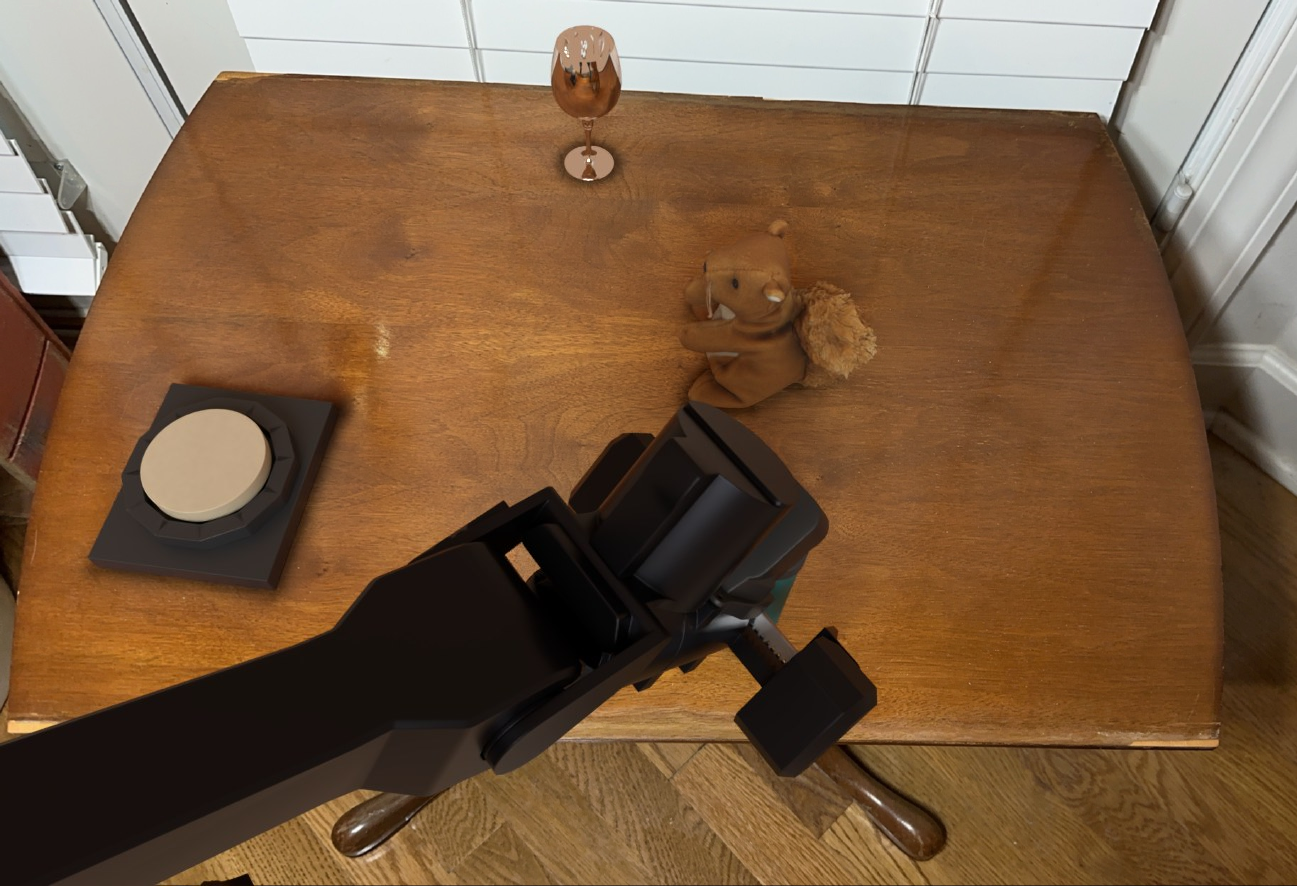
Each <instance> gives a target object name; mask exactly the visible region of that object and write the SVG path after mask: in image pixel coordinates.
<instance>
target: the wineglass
mask: <svg viewBox="0 0 1297 886" xmlns="http://www.w3.org/2000/svg"><path fill="white" fill-rule="evenodd" d="M621 67H622V66H621V60H620V56H619V53H618V49H617V45H616V41H615V39H614V37H613V35H612V34H611V33H610V32H608V31H607V30H605V29H604V28H602V27H599V26H595V25H589V24H586V25H583V24H582V25H575V26H571V27H568V28H567V29H565V30H563V31H562V32H560V33H559V35H558V36H557V37H556V40H555V42H554V47H553V52H552V57H551V65H550V87H551V92H552V95H553V98H554V100H555V102H556V104H557V105H558V107H559V108H560V110H561V111H563V112H564V113H565V114H567V115H568V116H570V117H572V118H574V119H578V120H581V124H582V125H581V126H582V127H583V130H584V135H585V145H580V146H577V147H575V148H573V149H571V150H570V151H569V152H567V154H566V156H565V157H564V161H563V163H564V165H563V166H564V169H565V171H566V172H567V173H568V175H570V176H571V177H573V178H575V179H577V180H580V181H586V182H590V181H591V182H593V181H598V180H601V179H604V178H606V177H607V176H608V175H610V174H611V172H612V171H613V169H614V167H615V159H614V157H613V155H612V154H611V153H610V152H609V151H608V150H607V149H605V148H603V147H601V146H598V145H592V132H593V127H594V124H595V120H598V119H600V118H603V117H604V116H607V115H608V114H609V113H610V112H612V110H613V109H614V108H615V107H616V106H617V104H618V102H619V100H620V97H621V92H622V85H623V77H622V76H623V73H622V68H621Z"/></svg>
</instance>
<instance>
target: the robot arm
mask: <svg viewBox="0 0 1297 886" xmlns="http://www.w3.org/2000/svg"><path fill="white" fill-rule="evenodd" d="M829 530H830V521H829V518H828V515H827V514H826V513H825V511H824V510H823V509H822V507H821V506H820V504H819V503H818V501H817V500H816V499H815V498H814V497H813V496H812V495H811V494H810V493H809V492H808V490H807V489H806V488H805V487H804V486H803V485H802V484H801V483H800V482H799V481H798V480H797V479H796V478H795V476H794V475H793V474H792V473H791V470H790V469H789V468H788V466H787V465H786V464H785V463H784V461H783V460H782V459H781V457H780V456H779V455H778V453H776V452H775V451H774V450H773V449H772V448H771V447H770V446H769V445H768V444H767V442H765V441H764V440H763V438H761V437H760V436H759V435H758V434H756V433H755V432H754V431H752V430H751V429H750V428H749V427H747V426H746V425H745V424H743V422H741V421H739V420H738V419H736V418H734V417H733V416H732V415H731V414H729V413H727V412H725V411H724V410H721V409H719V407H713V406H711V405H709V404H706V403H703V402H699V401H691V400H688V401H687V402H686V403H685V404H683V405H682V406H680V407H679V408H678V409H677V410H676V411H675V413H674V414H673V415H672V416H671V417H670V419H669V420H668V421H667V423H666V424H665V425H664V426H663V427H662V429H661V430H660V431H659V432H658V433H657V435H656V436H654V434H653V433H652V432H622V433H620V434H619V435H618V436H616V437H614V438H613V439H611V440H610V441H609V442H608V443H607V444H606V446H605V447H604V448H603V450H602V451H601V452H600V454H599V455H598V456H597V457H596V459H595V460H594V462H592V464H591V465H590V466H589V468H587V470H586V472H585V473H584V474H583V475H582V476H581V478H580V479H579V480H578V481H577V482H576V484H575V485H574V487H573V488H572V489H571V491H570V493H569V497H568V501H567V503H566V502H565V500H564V499H563V498H562V496H561V495H560V494H559V493H558V491H557V490H556V489H555V488H554V486H552V485H548V486H546V487H544V488H542V489H540V490H538V491H536V492H534V493H532V494H530V495H528V496H527V497H525V498H523V499H521V500H519V501H518V502H516V503H514V504H512V505H509V504H508V503H507V501H506V500H505V499H502V500H500V502H498V503H496V504H495V505H494V506H492V507H490V508H489V509H487V510H486V511H484V512H483V513H481V514H480V515H478V516H477V517H475V518H473V519H472V520H470V521H469V522H468V523H466V524H465V525H463V526H462V527H459V528H458V529H457V530H455V531H454V532H452V533H451V534H449V535H448V536H447V537H444V538H443V539H442V540H440V541H439V542H437V543H436V544H434V545H432V546H430V547H429V548H428V549H426V550H424V551H423V552H422V553H420V554H419V555H417V556H416V557H414V558H413V559H411V560H410V561H409V562H407V564H405V565H403V566H401V567H398V568H395V569H392V570H391V571H387V572H385V573H382V574H380V575H378V576H376V577H374V578H372V579H371V580H370V581H369V582H368V584H367V585H365V587H364V589H363V590H362V591H361V592H360V593H359V595H358V596H357V597H356V598H355V600H354V601H353V602H352V604H351V605H350V606H349V607H348V608H347V609H346V611H345V612H344V613H343V614H342V616H341V617H340V618H339V619H338V621H337V622H336V623H335V624H334V626H333V627H332V628H331V629H328V630H326V631H323V632H321V633H318V634H317V635H314V636H312V637H310V638H307V639H305V640H303V641H300V642H298V643H295V644H293V645H290V646H287V647H284V648H280V649H278V650H275V651H271V652H268V653H266V654H263V655H259V656H256V657H254V658H250V659H247V660H244V661H242V662H238V663H235V664H232V665H229V666H226V667H224V668H221V669H217V670H215V671H212V672H208V673H206V674H203V675H199V676H196V677H194V678H190V679H188V680H183V681H181V682H179V683H176V684H173V685H170V686H167V687H163V688H160V689H157V690H155V691H152V692H149V693H145V694H142V695H139V696H136V697H134V698H131V699H127V700H125V701H121V702H118V703H114V704H112V705H109V706H107V707H104V708H101V709H97V710H95V711H91V712H88V713H86V714H82V715H80V716H76V717H73V718H71V719H67V720H64V721H62V722H58V723H55V724H53V725H49V726H46V727H44V728H41V729H38V730H34V731H31V732H28V733H25V734H23V735H20V736H17V737H13V738H10V739H8V740H5V741H1V742H0V886H156V885H158V884H161V883H163V882H165V881H167V880H169V879H171V878H173V877H175V876H177V875H179V874H181V873H183V872H185V871H187V870H190V869H191V868H194V867H196V866H198V865H200V864H203V863H204V862H206V861H208V860H210V859H212V858H215V857H216V856H219V855H220V854H223V853H225V852H227V851H230V849H233V848H235V847H237V846H240V845H241V844H244V843H246V842H249V841H250V840H252V839H253V838H256V837H258V836H260V835H262V834H264V833H266V832H268V831H271V830H273V829H275V828H277V827H278V826H281V825H283V824H285V823H287V822H289V821H292V820H293V819H295V818H297V817H300V816H302V815H303V814H306V813H308V812H310V811H312V810H315V809H316V808H318V807H320V806H322V805H325V804H327V803H330V802H331V801H334V800H336V799H339V798H341V797H343V796H346V795H348V794H351V793H353V792H356V791H358V790H359V791H360V790H365V791H372V792H373V791H374V792H381V793H388V794H395V795H404V796H411V797H418V798H419V797H420V798H428V797H430V796H433V795H435V794H438V793H441V792H442V791H445V790H447V789H448V788H451V787H453V786H455V785H457V784H460V783H462V782H464V781H467V780H469V779H471V778H473V777H476V776H479V775H480V774H482V773H485V772H486V771H489V770H492V772H493V773H494V775H495V776H504V775H506V774H509V773H512V772H514V771H515V770H517V769H519V768H521V767H523V766H525V765H526V764H528V763H529V762H531V761H532V760H534V759H535V758H537V757H538V756H539V755H541V754H542V753H544V752H545V751H546V750H548V749H549V748H550V747H552V746H553V745H554V744H556V743H557V742H558V741H559V740H560V739H562V738H563V737H564V736H565V735H566V734H568V733H569V732H571V730H573V729H574V728H575V727H577V725H578V724H580V723H581V722H582V721H584V720H585V719H586V718H587V717H589V716H590V715H591V714H593V712H595V711H596V710H597V709H598V708H600V707H601V706H602V705H603V704H605V703H606V702H607V701H608V700H609V699H611V698H612V697H614V695H615V694H617V693H618V692H620V690H622V689H624V688H627V687H629V686H631V685H632V686H633V688H634V689H635V690H636V692H637V693H640V692H643V691H645V690H648V689H650V688H652V687H653V685H654V684H655V683H656V682H657V681H658V680H659V679H660V678H661V677H662V675H664V674H665V672H668V671H671V670H674V669H676V668H679V670H680V671H681V672H682V674H683V675H685V674H688V673H691V672H693V671H695V670H696V669H697V668H698V667H699V666H700V665H701V664H702V663H703V662H704V660H705V659H706V658H707V657H708V656H711V655H712V654H715V653H718V652H721V651H723V650H726V649H728V648H729V650H730V651H731V652H732V653H733V654H734V656H735V657H736V658H737V659H738V661H739V662H740V663H741V665H743V667H744V668H745V669H746V670H747V671H748V672H749V674H750V675H751V676H752V678H753V679H754V681H755V682H757V685H759V686H760V689H759V690H758V691H757V692H756V693H755V694H754V695H753V696H752V697H751V698H750V699H749V700H748V701H747V702H746V703H745V704H744V705H743V706H742V707H741V708H740V709H739V710H738V711H737V712H735V715H734V717H733V720H732V721H733V722H734V724H735V725H736V726H737V727H738V728H739V729H740V731H741V732H742V733H743V735H744V736H745V737H746V738H747V740H748V741H749V742H750V744H751V745H752V746H753V747H754V749H755V750H756V751H757V752H758V753H759V755H760V757H762V759H763V760H764V761H765V763H766V764H767V765H768V766H769V767H770V769H771V770H772V771H773V772H774V774H775V775H776V777H778V778H779V777H780V778H792V779H795V778H797V777H798V776H799V775H801V774H802V773H804V772H805V771H807V770H808V769H809V768H810V767H811V766H813V764H814V763H816V762H817V761H818V760H819V759H820V758H822V756H823V755H825V753H827V752H828V751H829V750H830V749H831V748H832V747H833V746H834V745H836V743H837V742H838V741H840V740H841V739H842V738H843V737H844V736H845V735H846V734H847V733H849V731H851V730H852V729H853V728H854V727H855V726H856V725H858V723H860V721H862V720H863V718H865V716H867V715H868V714H869V713H870V712H871V711H872V710H874V708H876V707H877V706H878V687H877V686H876V685H875V684H874V683H873V681H872V680H871V679H870V678H869V677H868V676H867V675H866V673H865V672H863V670H862V669H861V666H860V665H859V663H858V662H857V660H856V659H855V658H854V657H853V656H852V655H851V653H849V652H848V650H847V649H846V648H845V647H844V645H842V643H841V642H840V641H839V640H838V638H839V637H838V636H839V630H838V628H836V626H835V625H830V626H827V627H826V626H824V627H823V628H822V629H821V630H820V631H819V632H818V633H817V634H816V635H815V636H814V637H813V638H812V639H811V640H810V641H809V642H807V644H806V645H805V646H804V647H803V648H802V649H801V650H798V649H797V648H796V647H795V645H793V643H792V642H791V641H790V640H789V639H788V637H786V635H785V634H784V633H783V632H782V630H781V629H780V628H779V627H778V626H777V624H776V625H775V624H774V623H773V621H772V620H771V619H770V618H769V617H768V616H767V615H766V613H765V612H764V611H765V610H766V609H767V608H768V607H769V605H770V604H771V603H772V602H773V601H774V600H775V599H776V598H775V597H774V596H773V595H772V594H771V593H770V592H771V591H772V590H773V589H774V587H775V582H776V581H777V580H778V579H779V578H780V577H782V576H783V575H784V574H785V573H786V572H787V571H788V570H789V569H790V568H791V567H793V566H794V565H795V564H796V563H797V562H798V561H799V560H800V559H801V558H803V557H804V556H805V555H806V554H807V553H808V552H810V551H812V550H813V549H814V548H816V547H817V546H819V545H820V544H821V543H822V542H823V541H824V540H825V539H826V537H827V535H828V533H829ZM520 544H522V545H523V547H524V549H525V550H526V551H527V553H528V554H529V555H530V556H531V558H532V559H533V561H534V562H535V563H536V565H537V566H538V567H539V568H537V570H535V571H534V572H533V573H532V574H531V575H530V576H529V577H528V578H527V579H526V580H524V578H523V576H522V575H521V574H520V572H518V569H516V567H515V566H514V564H513V563H512V562H511V560H510V559H509V558H508V556H507V554H508V553H510V552H511V551H512V550H514V549H515V548H516V547H518V546H519V545H520ZM808 554H809V553H808ZM751 623H753V625H752V624H751ZM756 629H758V631H757V630H756ZM762 635H764V637H762ZM197 886H255V884H254V882H253V880H252V878H251V876H250V873H249V872H247V873H244V874H241V875H239V876H236V877H233V878H230V879H225V880H219V879H216V880H215V879H212V880H203V881H201V882H200V884H198V885H197Z"/></svg>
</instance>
